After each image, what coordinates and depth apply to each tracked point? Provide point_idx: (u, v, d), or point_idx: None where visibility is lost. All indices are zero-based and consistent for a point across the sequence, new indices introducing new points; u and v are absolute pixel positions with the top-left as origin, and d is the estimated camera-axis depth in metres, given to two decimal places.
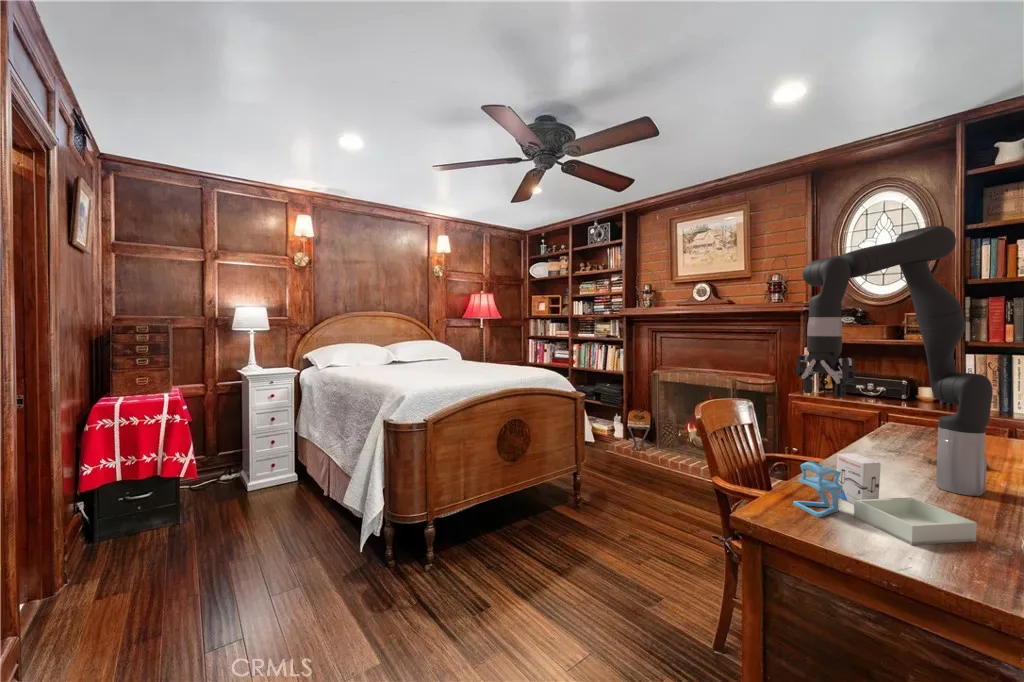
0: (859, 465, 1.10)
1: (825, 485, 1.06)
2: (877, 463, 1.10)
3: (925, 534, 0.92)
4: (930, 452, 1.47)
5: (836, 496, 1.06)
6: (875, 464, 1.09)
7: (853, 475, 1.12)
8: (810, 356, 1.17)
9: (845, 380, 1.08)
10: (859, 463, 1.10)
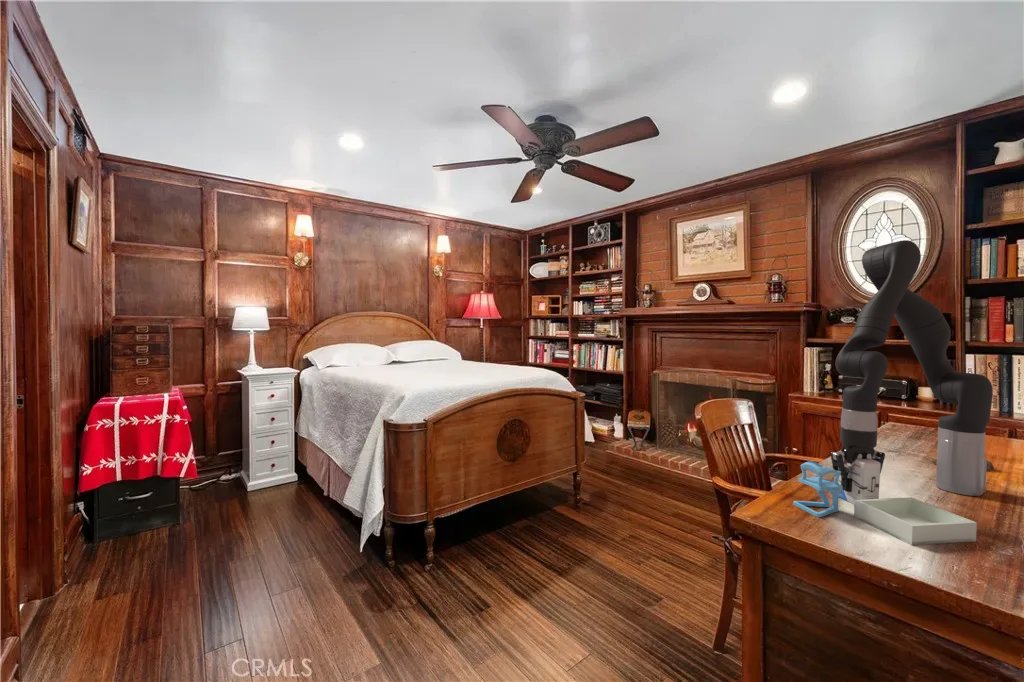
0: (859, 465, 1.10)
1: (825, 485, 1.06)
2: (877, 463, 1.10)
3: (925, 534, 0.92)
4: (935, 452, 1.46)
5: (836, 496, 1.06)
6: (875, 463, 1.09)
7: (852, 475, 1.12)
8: (851, 450, 1.12)
9: None
10: (859, 463, 1.10)
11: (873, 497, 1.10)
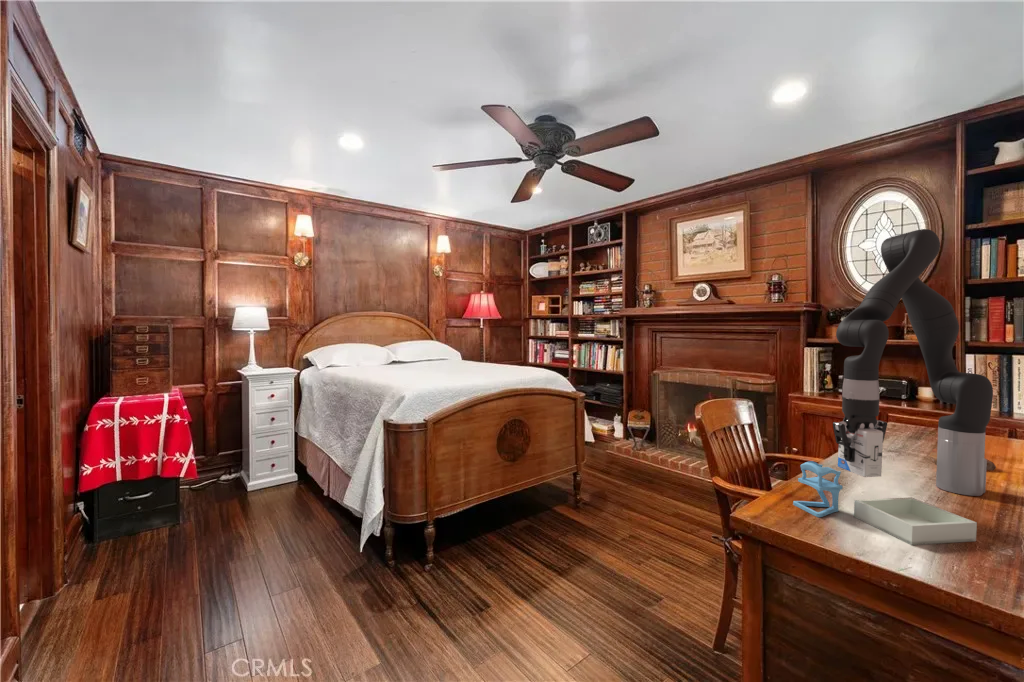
0: (862, 435, 1.10)
1: (825, 485, 1.06)
2: (880, 432, 1.09)
3: (925, 534, 0.92)
4: None
5: (836, 496, 1.06)
6: (878, 432, 1.09)
7: (855, 444, 1.12)
8: (853, 420, 1.12)
9: None
10: (862, 432, 1.10)
11: (876, 466, 1.09)
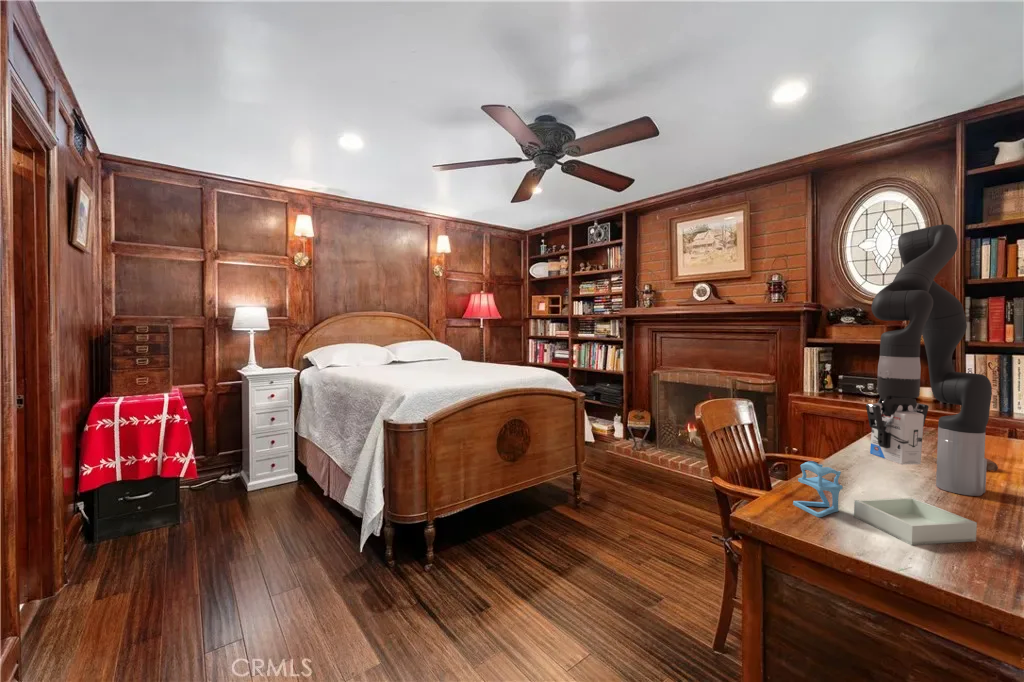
0: (899, 417, 0.99)
1: (825, 485, 1.06)
2: (920, 414, 0.98)
3: (925, 534, 0.92)
4: None
5: (836, 496, 1.06)
6: (918, 415, 0.98)
7: (891, 429, 1.01)
8: (889, 401, 1.01)
9: None
10: (899, 414, 0.99)
11: (915, 453, 0.98)
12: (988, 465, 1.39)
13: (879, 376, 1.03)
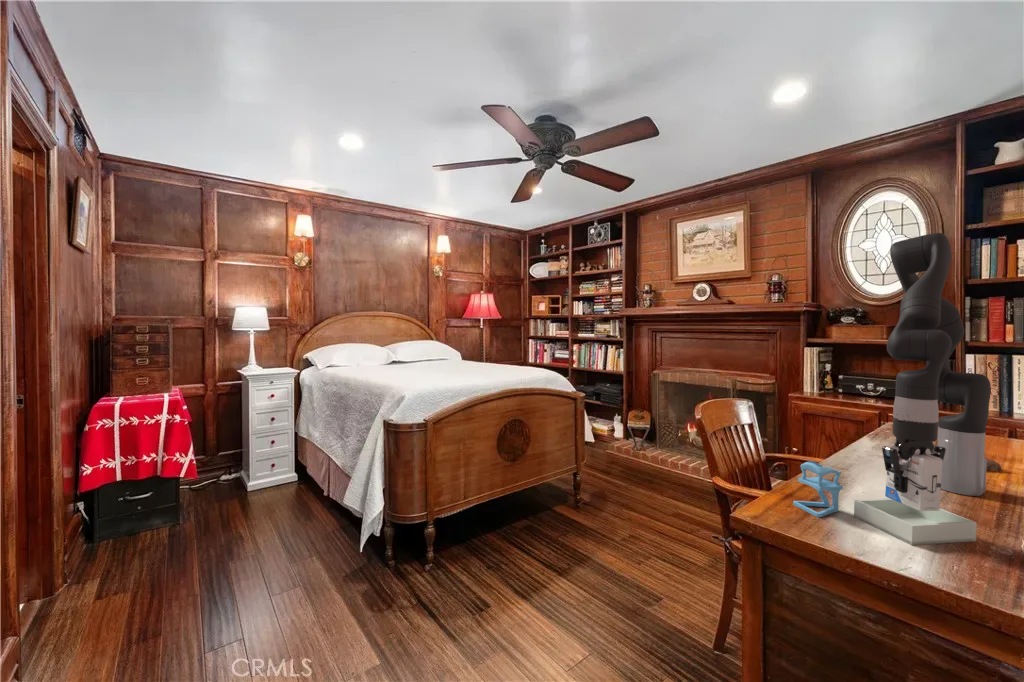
0: (917, 462, 0.95)
1: (825, 485, 1.06)
2: (938, 459, 0.95)
3: (925, 534, 0.92)
4: None
5: (836, 496, 1.06)
6: (936, 460, 0.94)
7: (909, 473, 0.97)
8: (907, 445, 0.97)
9: None
10: (917, 459, 0.95)
11: (934, 499, 0.95)
12: (991, 465, 1.38)
13: (895, 418, 0.99)
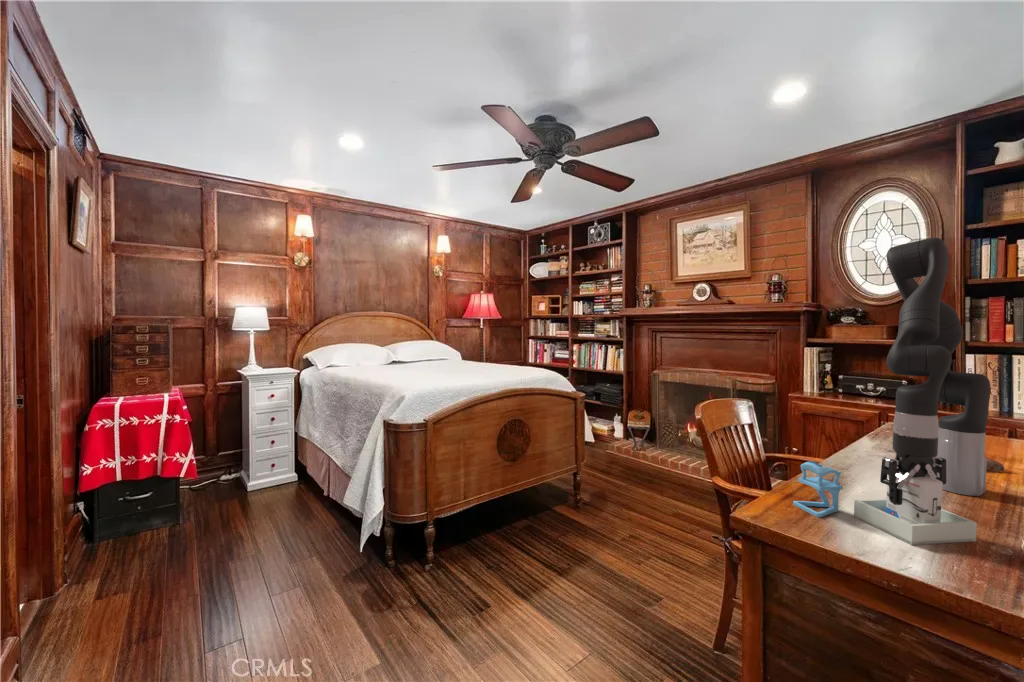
0: (918, 485, 0.95)
1: (825, 485, 1.06)
2: (939, 482, 0.95)
3: (925, 534, 0.92)
4: None
5: (836, 496, 1.06)
6: (937, 483, 0.95)
7: (909, 495, 0.97)
8: (907, 460, 0.97)
9: (945, 482, 0.98)
10: (918, 482, 0.95)
11: (934, 521, 0.95)
12: (994, 466, 1.38)
13: (895, 433, 0.99)
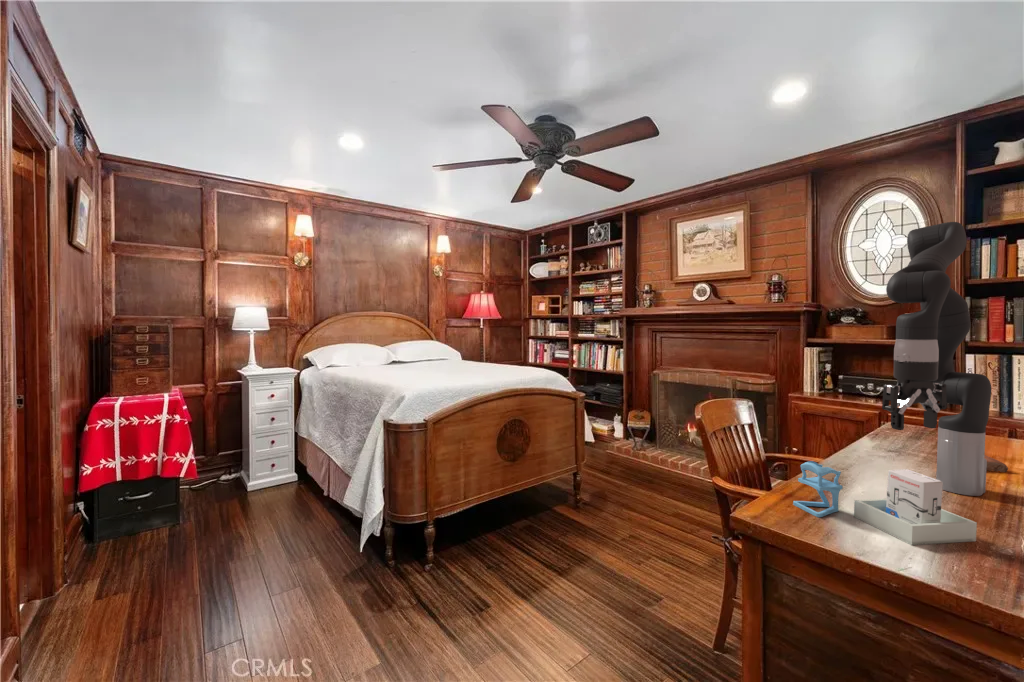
0: (918, 485, 0.95)
1: (825, 485, 1.06)
2: (939, 482, 0.95)
3: (925, 534, 0.92)
4: None
5: (836, 496, 1.06)
6: (937, 483, 0.95)
7: (909, 495, 0.97)
8: (909, 385, 0.98)
9: (945, 407, 1.00)
10: (918, 482, 0.95)
11: (934, 521, 0.95)
12: (998, 466, 1.37)
13: (896, 360, 1.00)
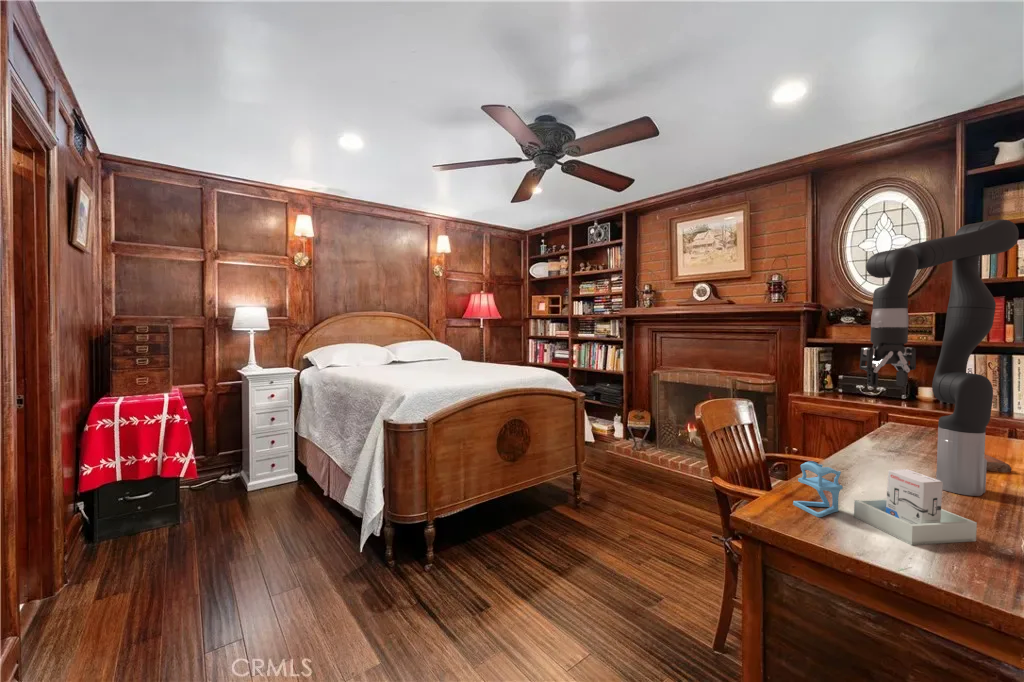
0: (918, 485, 0.95)
1: (825, 485, 1.06)
2: (939, 482, 0.95)
3: (925, 534, 0.92)
4: None
5: (836, 496, 1.06)
6: (937, 483, 0.95)
7: (909, 495, 0.97)
8: (882, 348, 1.14)
9: (914, 368, 1.15)
10: (918, 482, 0.95)
11: (934, 521, 0.95)
12: (1001, 467, 1.37)
13: (872, 327, 1.16)
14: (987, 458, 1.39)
